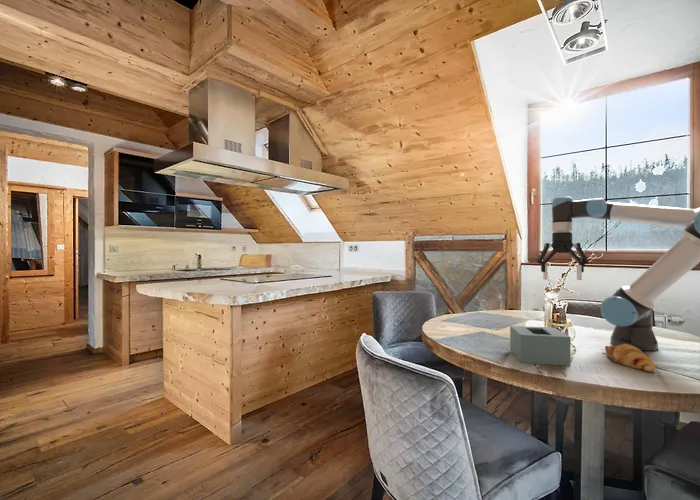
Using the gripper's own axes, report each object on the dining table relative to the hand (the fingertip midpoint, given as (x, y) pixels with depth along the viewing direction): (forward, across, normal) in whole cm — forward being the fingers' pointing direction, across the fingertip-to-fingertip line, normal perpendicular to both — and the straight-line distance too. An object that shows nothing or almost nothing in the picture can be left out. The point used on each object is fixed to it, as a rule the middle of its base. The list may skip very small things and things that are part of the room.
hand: (562, 279), depth 149 cm
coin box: (+27, +19, +29) cm, 44 cm away
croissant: (+27, -10, +29) cm, 41 cm away
